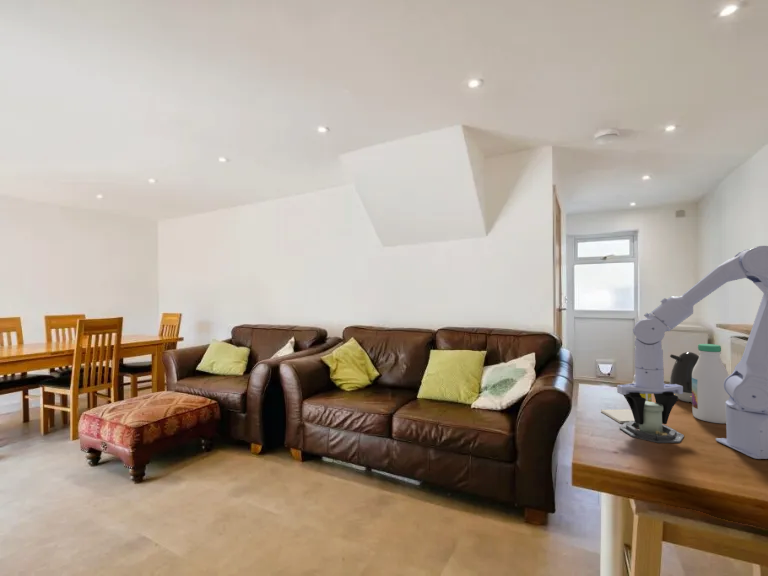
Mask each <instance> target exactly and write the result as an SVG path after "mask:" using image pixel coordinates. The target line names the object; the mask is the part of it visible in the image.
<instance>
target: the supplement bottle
mask: <svg viewBox="0 0 768 576" xmlns="http://www.w3.org/2000/svg"><path fill="white" fill-rule="evenodd" d="M632 383H635V374H634V375H633V381H632V382H631V384H632ZM640 395H641V397H643V398H645V399H646V401H648V402H653V400H652V399H653V397H652V394H640Z"/></svg>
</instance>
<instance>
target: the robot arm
mask: <svg viewBox="0 0 768 576" xmlns="http://www.w3.org/2000/svg"><path fill="white" fill-rule="evenodd" d="M742 279H748V280H749V281H751V282H753V284H754V285H755V286H756V287H757V288H758V289H759V290H760V291H761V292H762V293H763V295H762V299H761V301H760V302H759V303H760V304H759V306H758V310H757V312H756V315H755V318H754V321H753V325H752V326H751V330H750V332H749V335H748V339H747V341H746V344H745V347H744V351H743V354H742V356H741V359H740V361H739V362H738V363H737V364H736V365H735V366H734V370H733V371H732V373H731V374H728V375H729V376H728V377H727V378H726V379H725V381H724V389H725V391H726V392H727V394H728V395H730V397H729V399H728V400H727V401H726V423H725V424H726V425H725V428H726V429H725V431H726V438H725V437H721V438H718V437H716V438H715V441H716V442H718V443H720V444H723V445H724V446H727V447H729V448H731V449H733V450H736V451H738V452H740V453H741V454H744V455H745V456H748V457H750V458H752V459H755V460H756V459H757V460H761V459H765V460H767V459H768V245H759V246H755V247H752V248H749V249H748V248H747V249H743V250H741V251H740V252H738V253H736V254H735V255H734V257H730V258H729V259H727V260H725V261H723V262H722V263H720V264H719V265H717V266H715V268H713V269H712V270H711V271H709V273H707V274H706V275H705V276H703V277H702V278H701V279H700V280H699V281H697V282H696V283H695V284H694V285H693V286H692V287H690V288H689V289H688V290H687V291H685V292H684V293H683V294H682V295H680V296H676V295H674V296H673V295H671V296H670V297H668V298H666V297H664V298H663V299H660V303H661V304H658V305H657V307H655V308H654V309H653V310H651V311H650V312H649V313H648V312H646V313H645V314H644V315H643V316H644V317H645V318H641V319H639V320H638V321H636V322H635V324H634V326H633V328H632V332H633V334H634V336H635V337H636V338H635V339H634V346H635V348H634V375H635V383H632V382H631V383H625V384H617V385H616V386H617V387H616V389H617V393H618V394H620V395H622V396H623V397H624V399H625V400H626V402H627V404H628V405H629V407H630V409H631V410H632V413H633V416H634V420H635V422H636V423H638V424H643V420H644V419H643V411H644V405H645V401H646V399H645V398H643V397H641V395H640V394H651V395H652V394H653V396H654V400H655V403H659V404H661V405H663V411H662V424H664V425H667V424H668V421H669V417H670V414H671V412H672V409H673V407H674V406H675V405H676V403H678V401H679V399H678V396H676V395H674V393H677V394H683V386H680V385H677V384H670V383H665V375H664V374H665V373H664V371H665V370H664V350H663V348H662V345H663V344H662V343H663V341H662V340H664V338H665V334H666V332H671V331H672V330H673V329H675V328H676V327H677V326H679V325H680V324H682V323H683V322H684V321H686V319H688V318H689V317H691V316H692V315H693V314H694V307H695V305H696V304H698V303H699V302H701V301H702V300H703V299H705V298H706V297H708V296H709V295H711V294H713V293H714V292H715V291H716V290H718V289H719V288H721V287H723V286H724V285H725V284H727V283H729V282H733V281H738V280H742Z"/></svg>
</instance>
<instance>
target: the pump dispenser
mask: <svg viewBox="0 0 768 576" xmlns="http://www.w3.org/2000/svg"><path fill="white" fill-rule="evenodd" d="M669 358H670V359H673V360H674V361H675V362H674V364H673V367H672V369H671V372H670V378H669V384H677V385H680V386H683V394H677V393H674V394H675V395H676V396H678V400H680V401H682V402H685V403H689V402H691V403H690V404H692V397H690V396H692V371H693V368H694V366H695V365H696V363H697V361H698V359H699V355H698V354H697V353H694V352H691V351H686V352H682V353H681V354H679V355H675V354H670V355H669Z"/></svg>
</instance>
